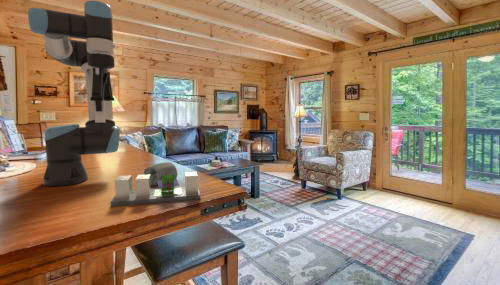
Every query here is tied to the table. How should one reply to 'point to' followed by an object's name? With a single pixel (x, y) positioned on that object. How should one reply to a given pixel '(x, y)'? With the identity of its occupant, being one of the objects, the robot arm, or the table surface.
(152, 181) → the grey rounded lump
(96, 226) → the table surface
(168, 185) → the geometric puzzle
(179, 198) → the finger rail
